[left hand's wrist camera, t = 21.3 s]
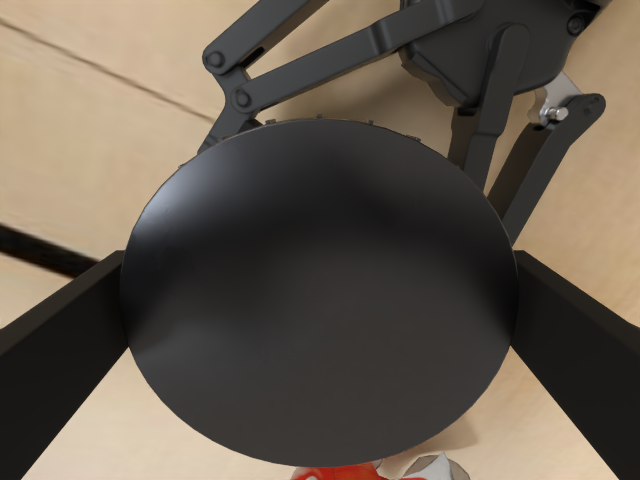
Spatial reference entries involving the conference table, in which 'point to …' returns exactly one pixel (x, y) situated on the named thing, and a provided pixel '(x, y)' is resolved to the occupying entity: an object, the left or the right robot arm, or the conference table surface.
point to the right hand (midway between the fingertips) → (275, 282)
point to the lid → (319, 292)
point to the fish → (423, 476)
